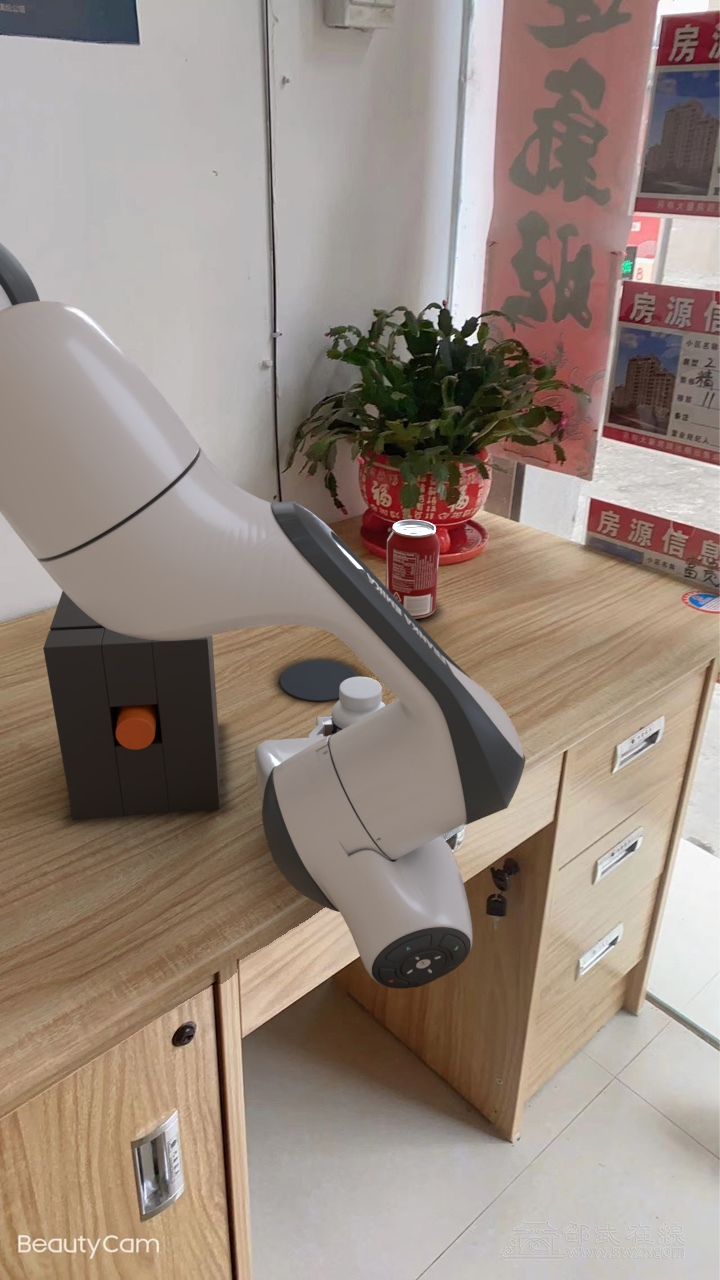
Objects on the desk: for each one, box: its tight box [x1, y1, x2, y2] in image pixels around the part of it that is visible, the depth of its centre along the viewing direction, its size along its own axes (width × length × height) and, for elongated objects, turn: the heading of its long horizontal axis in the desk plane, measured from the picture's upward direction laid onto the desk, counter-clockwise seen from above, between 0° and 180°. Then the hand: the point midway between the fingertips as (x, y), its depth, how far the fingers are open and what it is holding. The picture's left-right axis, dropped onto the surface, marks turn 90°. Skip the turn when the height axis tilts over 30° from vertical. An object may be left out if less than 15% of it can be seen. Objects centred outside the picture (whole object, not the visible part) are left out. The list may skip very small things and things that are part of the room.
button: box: [116, 704, 157, 750], centre depth 75 cm, size 3×3×3 cm
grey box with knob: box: [42, 590, 221, 821], centre depth 81 cm, size 13×13×18 cm
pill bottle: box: [331, 676, 386, 734], centre depth 84 cm, size 5×5×10 cm
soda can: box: [384, 519, 441, 620], centre depth 115 cm, size 7×7×12 cm
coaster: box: [279, 659, 359, 703], centre depth 101 cm, size 9×9×1 cm
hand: (357, 719), depth 85 cm, fingers closed on pill bottle, 5 cm apart
